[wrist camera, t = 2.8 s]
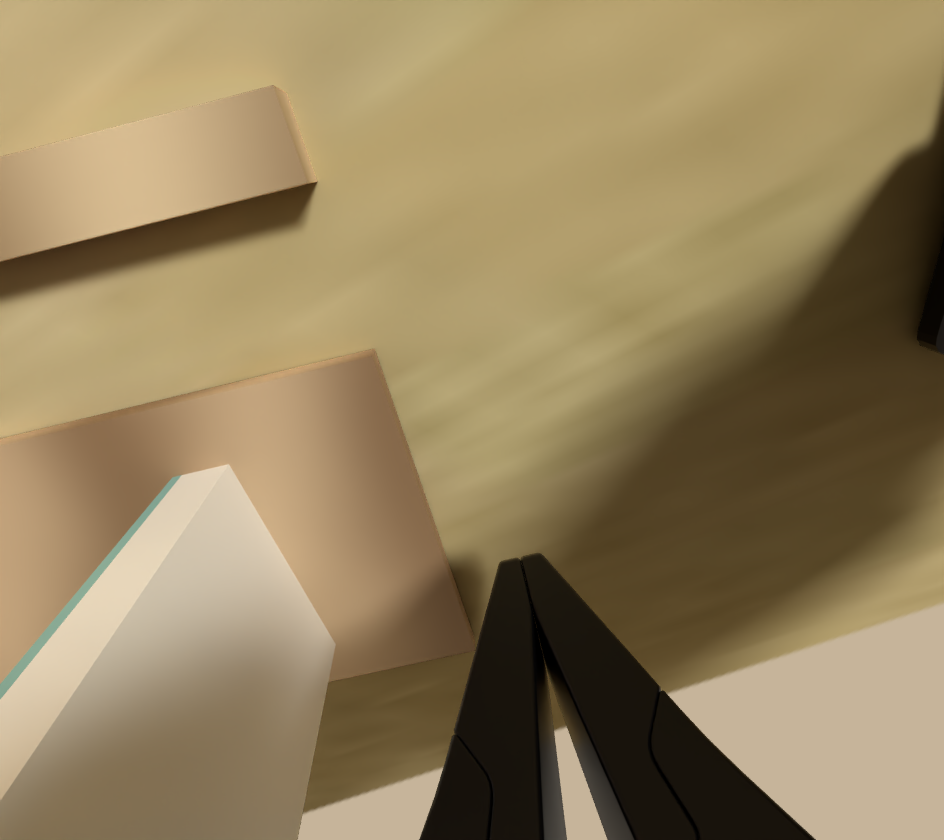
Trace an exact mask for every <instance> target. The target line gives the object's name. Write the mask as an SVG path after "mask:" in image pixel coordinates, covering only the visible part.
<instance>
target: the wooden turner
mask: <svg viewBox="0 0 944 840" xmlns="http://www.w3.org/2000/svg"><path fill="white" fill-rule="evenodd" d="M314 182H318V181H317V179H316V176H315V173H314V170H313V167H312V164H311V161H310V158H309V155H308V152H307V149H306V147H305V144H304V141H303V138H302V135H301V132H300V129H299V126H298V123H297V120H296V118H295V115H294V112H293V109H292V106H291V103H290V100H289V97H288V94H287V92H285V91H283V90H281V89H279V88H277V87H275V86H274V85H272V86H268V87H264V88H260V89H257V90H253V91H249V92H245V93H241V94H237V95H234V96H230V97H226V98H222V99H218V100H215V101H211V102H207V103H203V104H199V105H195V106H192V107H188V108H184V109H180V110H176V111H173V112H169V113H165V114H161V115H157V116H153V117H150V118H146V119H142V120H138V121H134V122H131V123H127V124H123V125H119V126H115V127H111V128H108V129H104V130H100V131H96V132H92V133H89V134H85V135H81V136H77V137H73V138H69V139H66V140H62V141H58V142H54V143H50V144H47V145H43V146H39V147H35V148H31V149H27V150H24V151H20V152H16V153H12V154H8V155H5V156H1V157H0V262H3V261H7V260H11V259H15V258H19V257H23V256H27V255H31V254H35V253H39V252H43V251H47V250H50V249H54V248H58V247H62V246H66V245H70V244H74V243H78V242H82V241H86V240H90V239H94V238H98V237H102V236H106V235H109V234H113V233H117V232H121V231H125V230H129V229H133V228H137V227H141V226H145V225H149V224H153V223H157V222H161V221H165V220H169V219H172V218H176V217H180V216H184V215H188V214H192V213H196V212H200V211H204V210H208V209H212V208H216V207H220V206H224V205H228V204H232V203H235V202H239V201H243V200H247V199H251V198H255V197H259V196H263V195H267V194H271V193H275V192H279V191H283V190H287V189H291V188H295V187H298V186H302V185H306V184H310V183H314Z"/></svg>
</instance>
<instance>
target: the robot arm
mask: <svg viewBox="0 0 944 840" xmlns="http://www.w3.org/2000/svg"><path fill="white" fill-rule="evenodd" d="M917 340H918V342H919V344H920V346H922V347H925V348H927V349H929V350H932V351H935V352H938V353H941V354H943V355H944V238H943V242H942V246H941V249H940V253H939V256H938V260H937V263H936V267H935V271H934V274H933V278H932V281H931V285H930V289H929V292H928V296H927V299H926V303H925V307H924V310H923V314H922V317H921V321H920V325H919V328H918V334H917ZM521 562H522V564H521ZM522 567H523V568H522ZM523 571H524V572H523ZM524 575H525V576H524ZM526 584H527V585H526ZM527 588H528V589H527ZM531 605H532V606H531ZM532 609H533V610H532ZM534 618H535V619H534ZM535 622H536V623H535ZM536 626H537V627H536ZM538 635H539V636H538ZM539 639H540V640H539ZM540 643H541V644H540ZM541 648H542V649H541ZM542 652H543V653H542ZM543 656H544V657H543ZM544 660H545V662H544ZM545 664H546V667H545ZM546 668H547V671H548V674H549V677H550V680H551V683H552V686H553V689H554V692H555V695H556V697H557V700H558V703H559V706H560V709H561V711H562V714H563V717H564V720H565V723H566V725H567V728H568V731H569V734H570V736H571V739H572V742H573V745H574V748H575V750H576V753H577V756H578V758H579V761H580V764H581V767H582V770H583V773H584V775H585V778H586V781H587V784H588V787H589V789H590V792H591V795H592V798H593V800H594V803H595V806H596V809H597V811H598V814H599V817H600V820H601V823H602V825H603V828H604V831H605V834H606V837H607V839H608V840H816V839H814V838H813V837H812V836H811V835H810V834H809V833H808V832H807V831H806V830H805V829H803V828H802V827H801V826H800V825H799V824H798V823H797V822H796V821H795V820H794V819H793V818H792V817H791V816H790V815H788V814H787V813H786V812H785V811H784V810H783V809H782V808H781V807H780V806H779V805H778V804H776V803H775V802H774V801H773V800H772V799H771V798H770V797H769V796H768V795H767V794H766V793H765V792H763V791H762V790H761V789H760V788H759V787H758V786H757V785H756V784H755V783H754V782H753V781H752V780H750V779H749V778H748V777H747V776H746V775H745V774H744V773H743V772H742V771H741V770H740V769H739V768H738V767H737V766H736V765H735V764H734V763H733V762H732V761H731V760H730V759H728V758H727V757H726V756H725V755H724V754H723V753H722V752H721V751H720V750H719V749H718V748H717V747H716V746H715V745H714V744H713V743H712V742H711V741H710V740H709V739H708V738H707V737H706V736H705V735H704V734H703V733H702V732H701V731H700V730H699V728H698V727H697V726H696V725H695V724H694V723H693V722H692V721H691V720H690V719H689V718H688V717H687V716H686V715H685V714H684V713H683V711H682V710H680V708H679V707H678V706H677V705H676V704H675V703H674V701H673V700H672V699H671V698H670V697H669V696H668V695H667V694H666V692H665V691H661V689H660V686H659V685H658V684H657V683H656V682H655V680H654V679H653V678H652V677H651V676H650V675H649V674H648V673H647V671H646V670H645V669H644V668H643V667H642V666H641V665H640V664H639V662H638V661H637V660H636V659H635V658H634V657H633V656H632V655H631V653H630V652H629V651H628V650H627V649H626V648H625V647H624V646H623V644H622V643H621V642H620V641H619V640H618V639H617V638H616V637H615V635H614V634H613V633H612V632H611V631H610V630H609V629H608V628H607V626H606V625H605V624H604V623H603V622H602V621H601V620H600V619H599V617H598V616H597V615H596V614H595V613H594V612H593V611H592V610H591V608H590V607H589V606H588V605H587V604H586V603H585V602H584V601H583V599H582V598H581V597H580V596H579V595H578V594H577V593H576V592H575V590H574V589H573V588H572V587H571V586H570V585H569V584H568V583H567V582H566V580H565V579H564V578H563V577H562V576H561V575H560V574H559V573H558V571H557V570H556V569H555V568H554V567H553V566H552V565H551V564H550V562H549V561H548V560H547V559H546V558H545V557H544V556H543V555H542V554H541V553H535V554H530V555H526V556H523V557H522V558H521V560H520V559H519V558H513V559H508V560H504V561H501V562H500V564H499V566H498V569H497V573H496V577H495V581H494V584H493V588H492V592H491V595H490V599H489V603H488V606H487V610H486V614H485V618H484V621H483V625H482V629H481V632H480V636H479V640H478V643H477V647H476V651H475V654H474V658H473V662H472V666H471V669H470V673H469V677H468V680H467V684H466V688H465V691H464V695H463V699H462V703H461V706H460V710H459V714H458V717H457V721H456V725H455V728H454V733H455V735H453V736H452V739H451V742H450V746H449V750H448V753H447V757H446V761H445V764H444V767H443V771H442V774H441V777H440V781H439V784H438V787H437V791H436V794H435V797H434V800H433V803H432V806H431V808H430V811H429V814H428V817H427V820H426V823H425V825H424V828H423V831H422V834H421V837H420V839H419V840H567V837H566V828H565V820H564V811H563V803H562V795H561V786H560V778H559V769H558V761H557V754H556V753H557V752H556V745H555V736H554V727H553V719H552V710H551V702H550V694H549V685H548V678H547V672H546Z"/></svg>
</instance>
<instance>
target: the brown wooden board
mask: <svg viewBox="0 0 944 840" xmlns="http://www.w3.org/2000/svg"><path fill="white" fill-rule="evenodd" d="M227 464H229V465H230V467H231V469H232V470H233V472H234V474H235V475H236V477H237V479H238V480H239V482H240V484H241V485H242V487H243V489H244V490H245V492H246V494H247V496H248V497H249V499H250V501H251V502H252V504H253V506H254V507H255V509H256V511H257V512H258V514H259V516H260V517H261V519H262V521H263V522H264V524H265V526H266V528H267V529H268V531H269V533H270V534H271V536H272V538H273V539H274V541H275V543H276V544H277V546H278V548H279V549H280V551H281V553H282V555H283V556H284V558H285V560H286V561H287V563H288V565H289V566H290V568H291V570H292V571H293V573H294V575H295V576H296V578H297V580H298V582H299V583H300V585H301V587H302V588H303V590H304V592H305V593H306V595H307V597H308V598H309V600H310V602H311V603H312V605H313V607H314V609H315V610H316V612H317V614H318V615H319V617H320V619H321V620H322V622H323V624H324V625H325V627H326V629H327V630H328V632H329V634H330V636H331V637H332V639H333V641H334V642H335V644H336V645H335V650H334V655H333V661H332V666H331V671H330V676H329V681H328V682H332V681H337V680H341V679H346V678H350V677H355V676H360V675H364V674H369V673H373V672H378V671H383V670H387V669H392V668H396V667H401V666H406V665H410V664H415V663H419V662H424V661H429V660H433V659H438V658H442V657H447V656H452V655H456V654H461V653H465V652H470V651H475V641H474V636H473V633H472V630H471V627H470V624H469V621H468V618H467V615H466V612H465V609H464V607H463V604H462V601H461V598H460V595H459V592H458V589H457V586H456V583H455V580H454V578H453V575H452V572H451V569H450V566H449V563H448V560H447V557H446V554H445V551H444V549H443V546H442V543H441V540H440V537H439V534H438V531H437V528H436V525H435V523H434V520H433V517H432V514H431V511H430V508H429V505H428V502H427V499H426V496H425V494H424V491H423V488H422V485H421V482H420V479H419V476H418V473H417V470H416V467H415V465H414V462H413V459H412V456H411V453H410V450H409V447H408V444H407V441H406V438H405V436H404V433H403V430H402V427H401V424H400V421H399V418H398V415H397V412H396V409H395V407H394V404H393V401H392V398H391V395H390V392H389V389H388V386H387V383H386V380H385V378H384V375H383V372H382V369H381V366H380V363H379V360H378V357H377V354H376V351H375V349H371V350H367V351H362V352H358V353H354V354H350V355H346V356H342V357H337V358H333V359H329V360H325V361H321V362H317V363H313V364H308V365H304V366H300V367H296V368H292V369H288V370H284V371H279V372H275V373H271V374H267V375H263V376H259V377H254V378H250V379H246V380H242V381H238V382H234V383H230V384H225V385H221V386H217V387H213V388H209V389H205V390H201V391H196V392H192V393H188V394H184V395H180V396H176V397H171V398H167V399H163V400H159V401H155V402H151V403H147V404H142V405H138V406H134V407H130V408H126V409H122V410H117V411H113V412H109V413H105V414H101V415H97V416H93V417H88V418H84V419H80V420H76V421H72V422H68V423H64V424H59V425H55V426H51V427H47V428H43V429H39V430H34V431H30V432H26V433H22V434H18V435H14V436H10V437H5V438H1V439H0V684H1V683H2V681H3V680H4V679H5V678H6V677H7V675H8V674H9V673H10V672H11V671H12V669H13V668H14V667H15V666H16V665H17V663H18V662H19V661H20V660H21V659H22V657H23V656H24V655H25V654H26V653H27V651H28V650H29V649H30V648H31V647H32V645H33V644H34V643H35V642H36V641H37V639H38V638H39V637H40V636H41V635H42V633H43V632H44V631H45V630H46V629H47V627H48V626H49V625H50V624H51V623H52V621H53V620H54V619H55V618H56V617H57V615H58V614H59V613H60V612H61V611H62V609H63V608H64V607H65V606H66V605H67V603H68V602H69V601H70V600H71V599H72V597H73V596H74V595H75V594H76V593H77V591H78V590H79V589H80V588H81V587H82V585H83V584H84V583H85V582H86V581H87V579H88V578H89V577H90V576H91V575H92V573H93V572H94V571H95V570H96V569H97V567H98V566H99V565H100V564H101V563H102V561H103V560H104V559H105V558H106V557H107V555H108V554H109V553H110V552H111V551H112V549H113V548H114V547H115V546H116V545H117V543H118V542H119V541H120V540H121V539H122V537H123V536H124V535H125V534H126V533H127V531H128V530H129V529H130V528H131V526H132V525H133V524H134V523H135V522H136V520H137V519H138V518H139V517H140V516H141V514H142V513H143V512H144V511H145V510H146V508H147V507H148V506H149V505H150V504H151V502H152V501H153V500H154V499H155V498H156V496H157V495H158V494H159V493H160V492H161V490H162V489H163V488H164V487H165V486H166V484H167V483H168V482H169V481H170V480H171V478H172V477H176V476H180V475H185V474H189V473H193V472H197V471H202V470H206V469H210V468H214V467H219V466H223V465H227Z"/></svg>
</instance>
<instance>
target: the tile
mask: <svg viewBox="0 0 944 840" xmlns="http://www.w3.org/2000/svg"><path fill="white" fill-rule="evenodd" d="M335 645H336V644H335V642H334V641H333V639H332V637H331V636H330V634H329V632H328V630H327V629H326V627H325V625H324V624H323V622H322V620H321V619H320V617H319V615H318V614H317V612H316V610H315V609H314V607H313V605H312V603H311V602H310V600H309V598H308V597H307V595H306V593H305V592H304V590H303V588H302V587H301V585H300V583H299V582H298V580H297V578H296V576H295V575H294V573H293V571H292V570H291V568H290V566H289V565H288V563H287V561H286V560H285V558H284V556H283V555H282V553H281V551H280V549H279V548H278V546H277V544H276V543H275V541H274V539H273V538H272V536H271V534H270V533H269V531H268V529H267V528H266V526H265V524H264V522H263V521H262V519H261V517H260V516H259V514H258V512H257V511H256V509H255V507H254V506H253V504H252V502H251V501H250V499H249V497H248V496H247V494H246V492H245V490H244V489H243V487H242V485H241V484H240V482H239V480H238V479H237V477H236V475H235V474H234V472H233V470H232V469H231V467H230V465H229V464H227V465H223V466H219V467H214V468H210V469H206V470H202V471H197V472H193V473H189V474H185V475H180V476H176V477H172V478H171V480H170V481H169V482H168V483H167V484H166V486H165V487H164V488H163V489H162V490H161V492H160V493H159V494H158V495H157V496H156V498H155V499H154V500H153V501H152V502H151V504H150V505H149V506H148V507H147V508H146V510H145V511H144V512H143V513H142V514H141V516H140V517H139V518H138V519H137V520H136V522H135V523H134V524H133V525H132V526H131V528H130V529H129V530H128V531H127V533H126V534H125V535H124V536H123V537H122V539H121V540H120V541H119V542H118V543H117V545H116V546H115V547H114V548H113V549H112V551H111V552H110V553H109V554H108V555H107V557H106V558H105V559H104V560H103V561H102V563H101V564H100V565H99V566H98V567H97V569H96V570H95V571H94V572H93V573H92V575H91V576H90V577H89V578H88V579H87V581H86V582H85V583H84V584H83V585H82V587H81V588H80V589H79V590H78V591H77V593H76V594H75V595H74V596H73V597H72V599H71V600H70V601H69V602H68V603H67V605H66V606H65V607H64V608H63V609H62V611H61V612H60V613H59V614H58V615H57V617H56V618H55V619H54V620H53V621H52V623H51V624H50V625H49V626H48V627H47V629H46V630H45V631H44V632H43V633H42V635H41V636H40V637H39V638H38V639H37V641H36V642H35V643H34V644H33V645H32V647H31V648H30V649H29V650H28V651H27V653H26V654H25V655H24V656H23V657H22V659H21V660H20V661H19V662H18V663H17V665H16V666H15V667H14V668H13V669H12V671H11V672H10V673H9V674H8V675H7V677H6V678H5V679H4V680H3V681H2V683H1V684H0V840H297V839H298V834H299V829H300V824H301V818H302V814H303V809H304V804H305V798H306V793H307V788H308V783H309V778H310V773H311V768H312V763H313V758H314V753H315V747H316V742H317V737H318V732H319V727H320V722H321V717H322V712H323V707H324V701H325V696H326V691H327V686H328V681H329V676H330V671H331V666H332V661H333V655H334V650H335Z"/></svg>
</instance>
